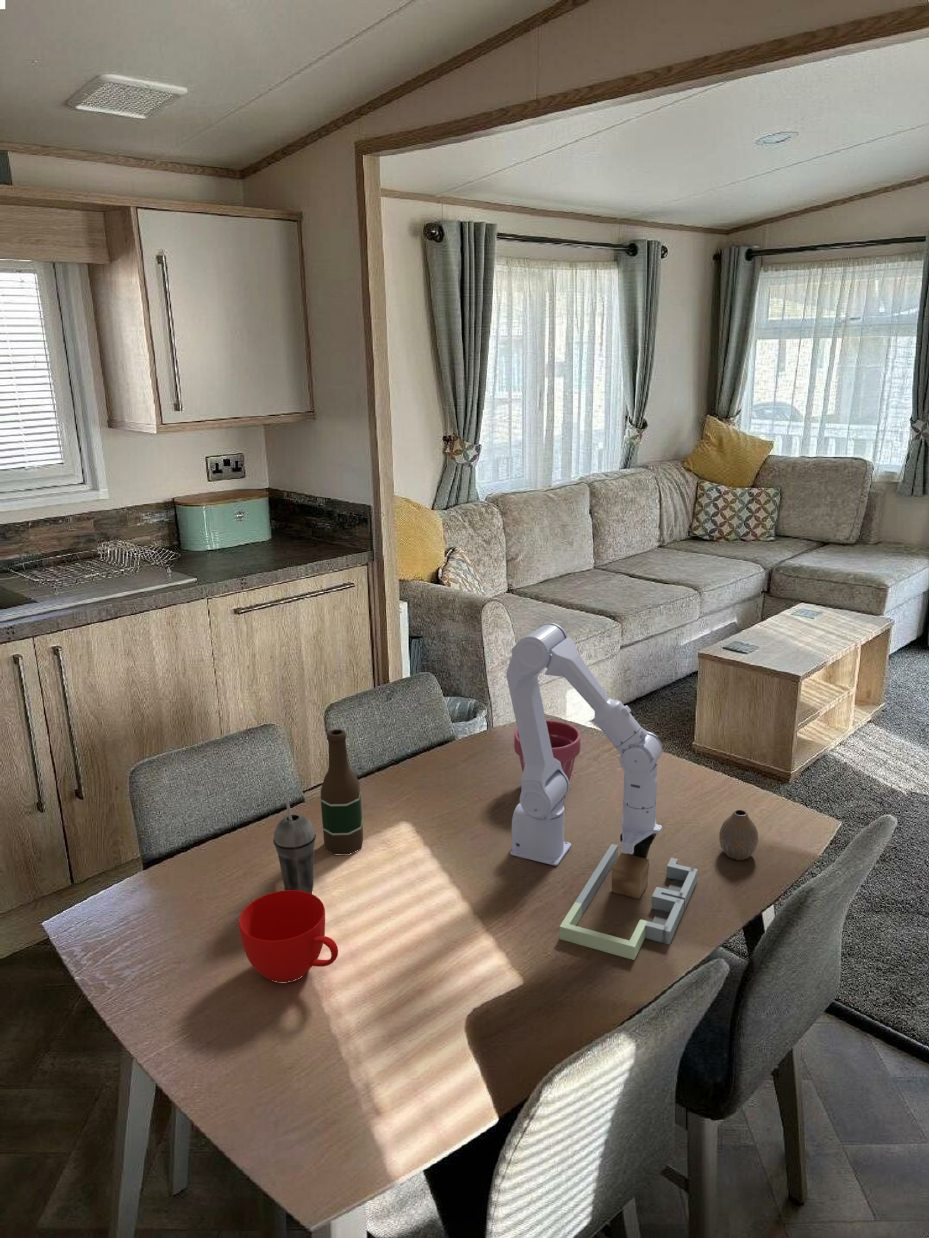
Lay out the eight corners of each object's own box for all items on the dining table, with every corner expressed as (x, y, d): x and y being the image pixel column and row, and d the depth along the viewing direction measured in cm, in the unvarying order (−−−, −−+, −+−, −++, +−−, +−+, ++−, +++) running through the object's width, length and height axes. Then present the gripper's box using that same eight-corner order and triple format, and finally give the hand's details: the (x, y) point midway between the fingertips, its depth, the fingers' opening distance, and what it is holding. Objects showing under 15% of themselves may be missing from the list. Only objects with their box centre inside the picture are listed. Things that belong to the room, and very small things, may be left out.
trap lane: (559, 938, 146) (559, 926, 146) (611, 855, 169) (611, 843, 169) (659, 967, 139) (660, 954, 138) (699, 875, 162) (700, 864, 162)
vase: (758, 866, 165) (762, 823, 162) (719, 862, 166) (722, 820, 164) (754, 845, 171) (758, 804, 169) (717, 842, 173) (719, 801, 170)
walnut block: (611, 891, 158) (612, 866, 157) (620, 876, 163) (621, 852, 161) (639, 899, 156) (640, 873, 155) (647, 883, 160) (648, 859, 159)
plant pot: (583, 803, 188) (584, 747, 185) (515, 804, 189) (515, 748, 185) (576, 771, 202) (576, 718, 198) (513, 772, 202) (512, 719, 199)
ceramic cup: (310, 1019, 130) (305, 961, 127) (226, 979, 139) (220, 923, 136) (366, 967, 141) (362, 912, 138) (285, 933, 149) (279, 880, 146)
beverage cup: (328, 889, 161) (320, 788, 155) (305, 911, 155) (296, 807, 149) (294, 879, 164) (285, 780, 158) (270, 901, 158) (260, 799, 152)
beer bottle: (316, 852, 173) (307, 737, 166) (336, 832, 180) (328, 721, 172) (352, 859, 170) (344, 743, 163) (371, 839, 177) (364, 726, 170)
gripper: (651, 825, 150) (648, 895, 154) (672, 787, 163) (669, 853, 167) (610, 816, 153) (608, 886, 157) (634, 780, 166) (631, 845, 170)
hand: (637, 868), depth 162 cm, fingers closed
